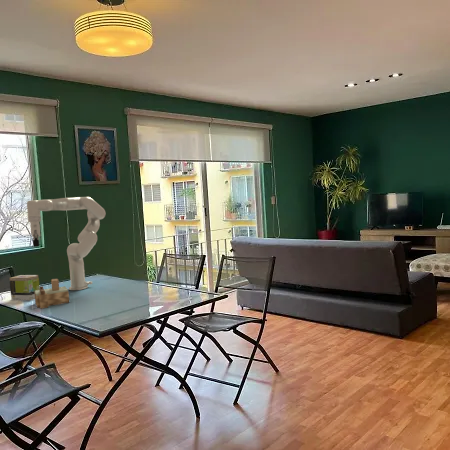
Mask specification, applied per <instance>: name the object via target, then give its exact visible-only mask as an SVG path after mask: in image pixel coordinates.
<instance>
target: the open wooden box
mask: <svg viewBox="0 0 450 450" xmlns="http://www.w3.org/2000/svg"><path fill="white" fill-rule="evenodd" d="M34 293H35V292H34ZM34 300H35V301H34V302H35V303H34V304H35V306H36V308H40V309H47V308H49V307H50V306H56V305H62V304H69V303H70V295H69V290H68V291H66V292H60V293H53V294H47V293H45V294H39V296H36V294H35V299H34Z"/></svg>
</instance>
